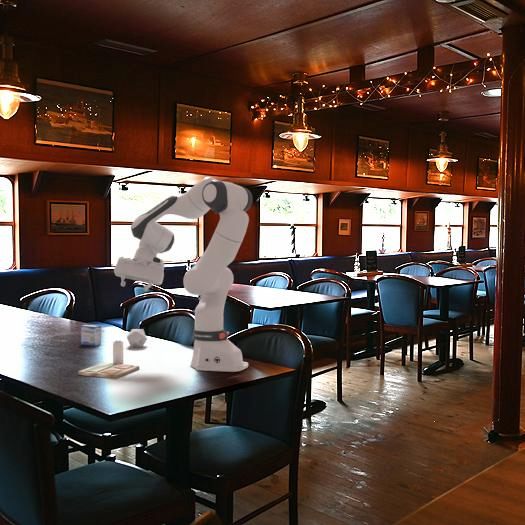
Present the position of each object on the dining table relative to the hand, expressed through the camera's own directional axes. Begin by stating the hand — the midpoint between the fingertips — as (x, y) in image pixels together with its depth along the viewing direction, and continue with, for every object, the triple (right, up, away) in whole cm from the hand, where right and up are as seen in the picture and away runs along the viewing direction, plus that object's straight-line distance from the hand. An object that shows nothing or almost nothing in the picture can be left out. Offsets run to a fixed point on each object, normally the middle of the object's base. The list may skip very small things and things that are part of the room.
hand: (133, 288), depth 255 cm
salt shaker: (-5, -29, -7) cm, 31 cm away
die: (-4, -28, +27) cm, 39 cm away
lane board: (-4, -30, -22) cm, 38 cm away
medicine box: (-26, -27, +32) cm, 49 cm away
